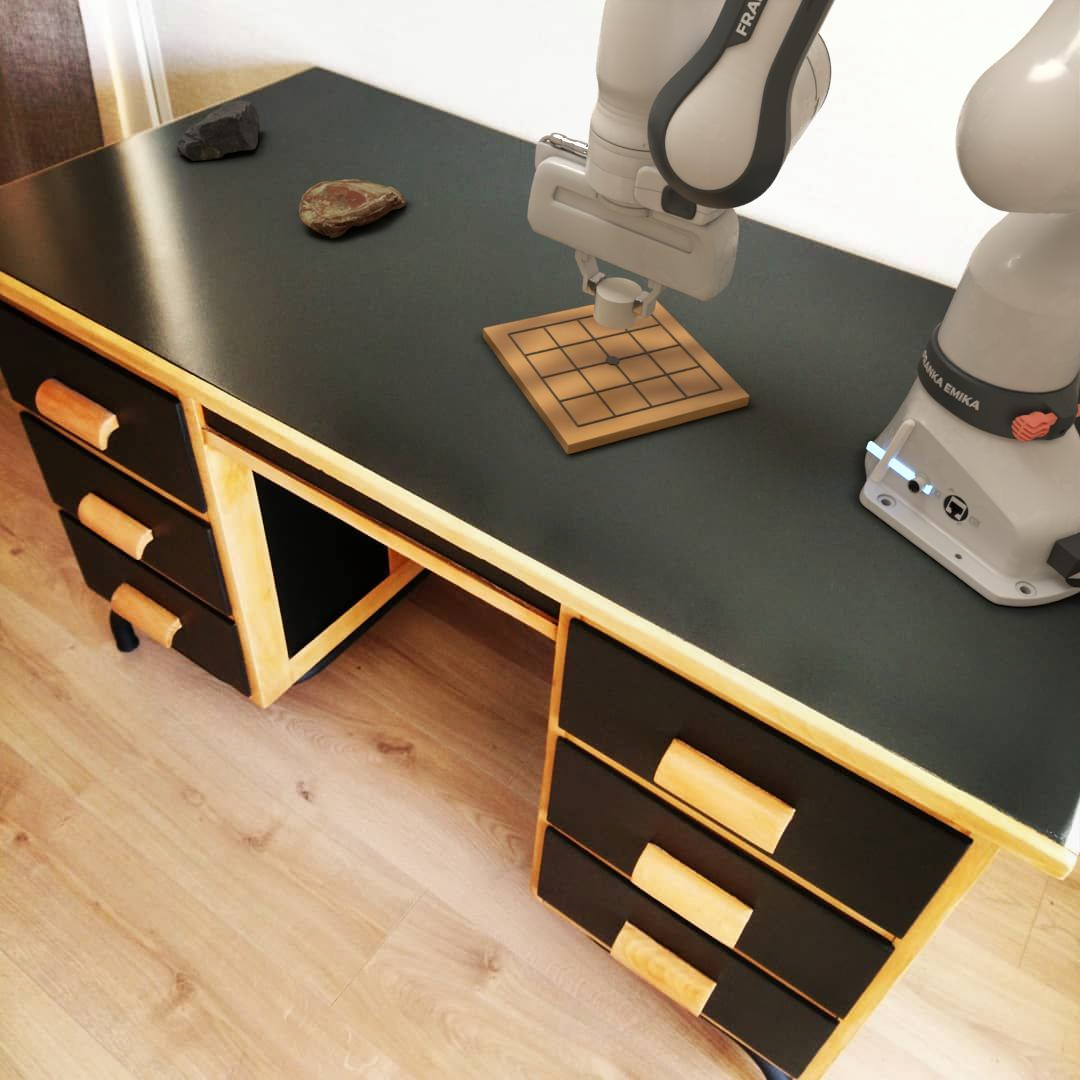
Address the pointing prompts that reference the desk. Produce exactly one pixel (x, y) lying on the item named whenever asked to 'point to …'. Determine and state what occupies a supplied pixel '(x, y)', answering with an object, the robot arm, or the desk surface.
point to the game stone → (616, 303)
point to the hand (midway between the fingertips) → (618, 302)
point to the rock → (222, 132)
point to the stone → (346, 205)
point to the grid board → (611, 375)
